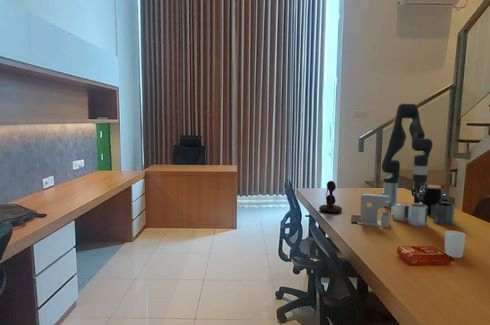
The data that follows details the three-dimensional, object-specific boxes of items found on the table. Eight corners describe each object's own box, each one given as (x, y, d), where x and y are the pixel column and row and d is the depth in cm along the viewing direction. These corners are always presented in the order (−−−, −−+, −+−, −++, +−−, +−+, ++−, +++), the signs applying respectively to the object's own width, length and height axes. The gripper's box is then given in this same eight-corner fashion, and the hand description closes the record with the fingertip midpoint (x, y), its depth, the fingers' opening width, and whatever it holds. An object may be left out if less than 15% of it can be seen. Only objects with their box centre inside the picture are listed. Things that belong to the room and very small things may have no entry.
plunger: (410, 222, 205) (411, 194, 203) (413, 220, 209) (415, 192, 208) (420, 224, 201) (422, 195, 199) (424, 222, 205) (426, 194, 203)
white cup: (439, 252, 160) (440, 230, 159) (455, 251, 161) (457, 230, 160) (451, 258, 153) (452, 236, 151) (468, 258, 153) (469, 235, 152)
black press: (428, 221, 210) (429, 193, 208) (433, 219, 216) (435, 191, 214) (450, 226, 202) (452, 196, 200) (454, 222, 208) (456, 194, 206)
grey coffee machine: (389, 223, 207) (391, 192, 206) (390, 227, 198) (391, 196, 196) (358, 219, 214) (360, 190, 212) (357, 224, 204) (358, 193, 202)
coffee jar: (442, 216, 223) (444, 188, 221) (424, 215, 226) (425, 187, 224) (436, 211, 234) (438, 185, 232) (419, 211, 236) (421, 184, 234)
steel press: (401, 223, 207) (402, 204, 206) (407, 220, 214) (408, 202, 212) (422, 227, 199) (423, 208, 198) (428, 224, 205) (429, 205, 204)
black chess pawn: (319, 208, 242) (319, 179, 240) (341, 209, 239) (342, 180, 237) (319, 213, 228) (319, 183, 226) (342, 215, 225) (343, 184, 223)
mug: (407, 218, 218) (408, 204, 217) (407, 221, 211) (408, 206, 210) (391, 216, 222) (391, 202, 221) (390, 219, 215) (391, 205, 214)
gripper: (420, 175, 195) (418, 205, 197) (433, 173, 203) (431, 202, 205) (407, 173, 201) (405, 203, 203) (420, 171, 209) (418, 199, 211)
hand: (418, 202), depth 204 cm, fingers open, 5 cm apart
